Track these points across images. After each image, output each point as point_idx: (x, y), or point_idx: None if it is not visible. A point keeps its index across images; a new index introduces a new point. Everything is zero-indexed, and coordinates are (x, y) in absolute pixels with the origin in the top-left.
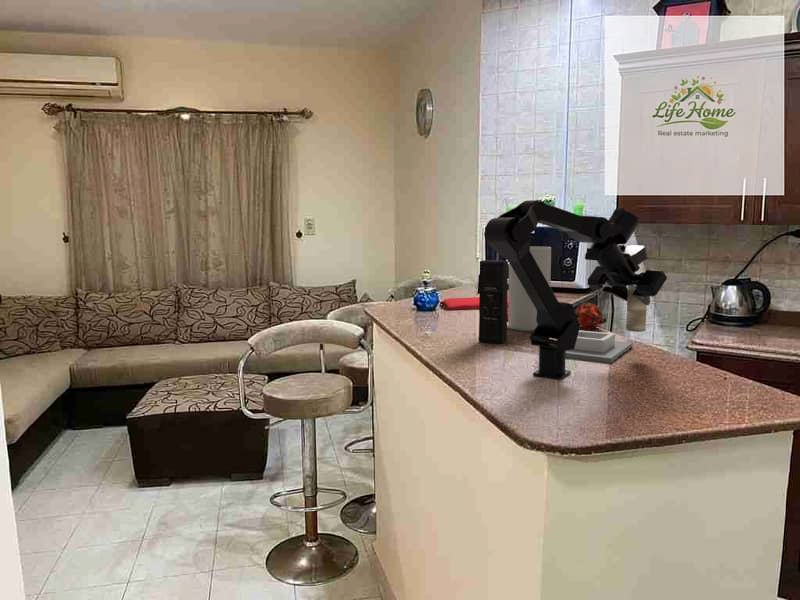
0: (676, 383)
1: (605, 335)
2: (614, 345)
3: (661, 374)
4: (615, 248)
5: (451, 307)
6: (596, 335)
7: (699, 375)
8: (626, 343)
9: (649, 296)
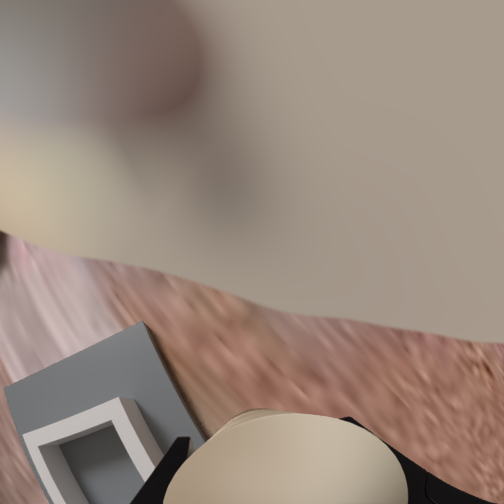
0: (474, 486)
1: (103, 423)
2: (136, 402)
3: None
4: None
5: None
6: (80, 433)
7: (461, 404)
8: (136, 344)
9: (391, 449)
